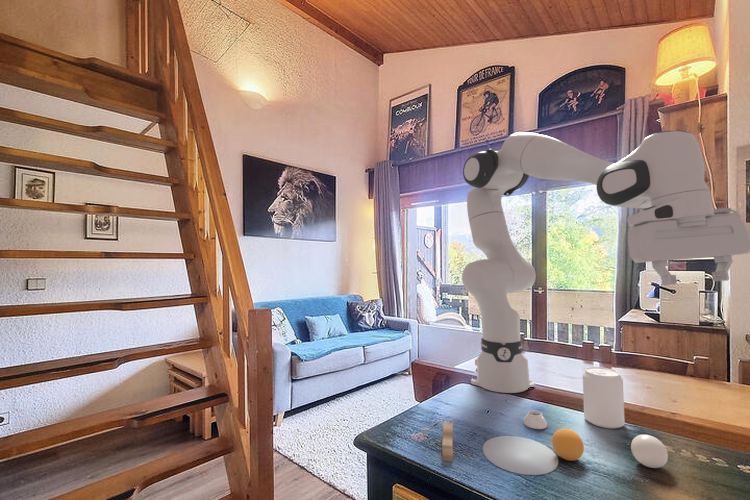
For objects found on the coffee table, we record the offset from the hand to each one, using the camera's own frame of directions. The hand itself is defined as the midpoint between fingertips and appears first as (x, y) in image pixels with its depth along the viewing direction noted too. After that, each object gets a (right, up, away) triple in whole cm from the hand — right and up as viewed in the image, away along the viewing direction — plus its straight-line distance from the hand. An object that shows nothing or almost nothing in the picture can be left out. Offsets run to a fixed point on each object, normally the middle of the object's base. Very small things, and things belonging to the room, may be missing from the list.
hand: (695, 282), depth 68 cm
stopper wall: (-45, -35, +7) cm, 58 cm away
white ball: (-9, -32, 0) cm, 33 cm away
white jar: (-23, -35, +17) cm, 45 cm away
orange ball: (-23, -32, +3) cm, 39 cm away
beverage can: (-6, -35, +17) cm, 39 cm away
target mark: (-31, -35, +4) cm, 47 cm away
